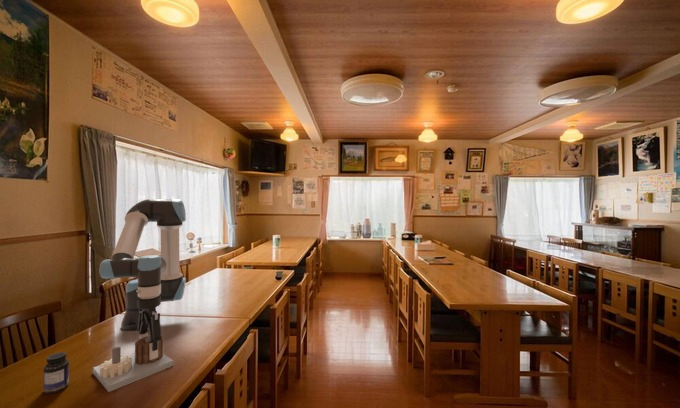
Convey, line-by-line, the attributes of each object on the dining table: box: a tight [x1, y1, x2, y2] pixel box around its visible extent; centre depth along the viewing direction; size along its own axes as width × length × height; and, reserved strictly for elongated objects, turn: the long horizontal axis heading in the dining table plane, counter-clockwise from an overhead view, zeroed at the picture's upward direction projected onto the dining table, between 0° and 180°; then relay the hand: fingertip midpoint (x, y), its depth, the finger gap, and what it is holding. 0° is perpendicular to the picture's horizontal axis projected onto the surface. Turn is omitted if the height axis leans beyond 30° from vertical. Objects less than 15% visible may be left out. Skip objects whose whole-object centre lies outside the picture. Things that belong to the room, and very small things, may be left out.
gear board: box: [92, 336, 174, 393], centre depth 109 cm, size 18×20×10 cm
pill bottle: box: [43, 351, 70, 395], centre depth 98 cm, size 6×6×11 cm
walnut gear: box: [134, 335, 164, 365], centre depth 113 cm, size 9×9×7 cm
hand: (148, 354), depth 113 cm, fingers closed on walnut gear, 9 cm apart
